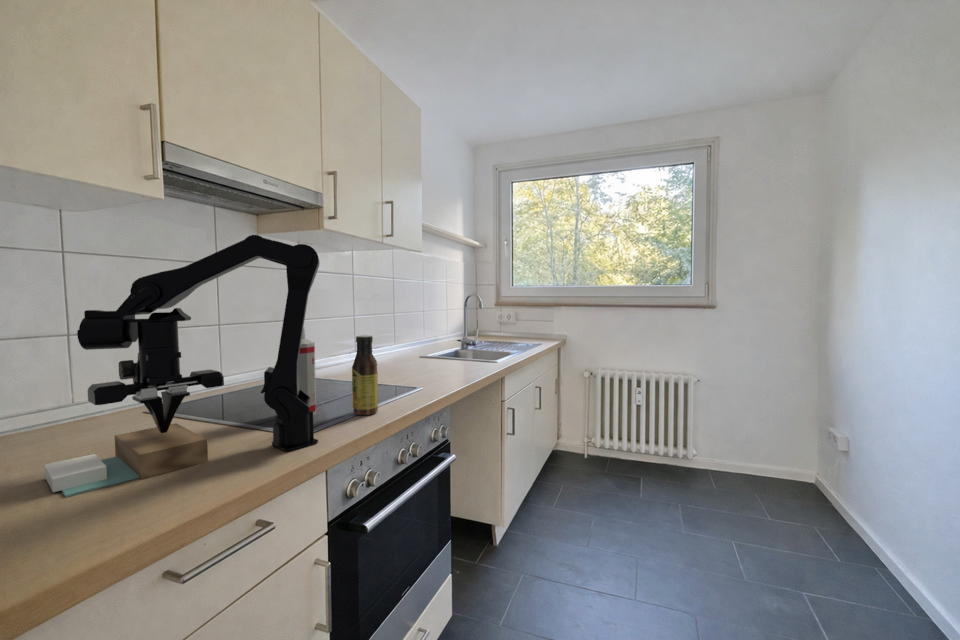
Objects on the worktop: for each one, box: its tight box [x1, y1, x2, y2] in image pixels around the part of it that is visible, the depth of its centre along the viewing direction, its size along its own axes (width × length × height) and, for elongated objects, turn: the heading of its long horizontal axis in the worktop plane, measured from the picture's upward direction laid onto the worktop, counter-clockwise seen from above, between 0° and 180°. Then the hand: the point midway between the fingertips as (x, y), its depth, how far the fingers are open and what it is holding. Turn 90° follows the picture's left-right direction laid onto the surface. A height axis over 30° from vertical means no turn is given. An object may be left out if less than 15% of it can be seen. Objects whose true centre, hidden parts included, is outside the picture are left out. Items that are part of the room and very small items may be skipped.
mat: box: [60, 456, 140, 498], centre depth 68 cm, size 9×14×1 cm, turn 52°
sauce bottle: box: [351, 334, 379, 416], centre depth 105 cm, size 6×6×20 cm
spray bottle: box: [298, 326, 317, 416], centre depth 104 cm, size 8×8×25 cm
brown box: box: [114, 422, 209, 480], centre depth 75 cm, size 10×16×4 cm, turn 52°
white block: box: [43, 453, 107, 493], centre depth 66 cm, size 6×9×2 cm, turn 52°
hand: (163, 432), depth 75 cm, fingers closed
